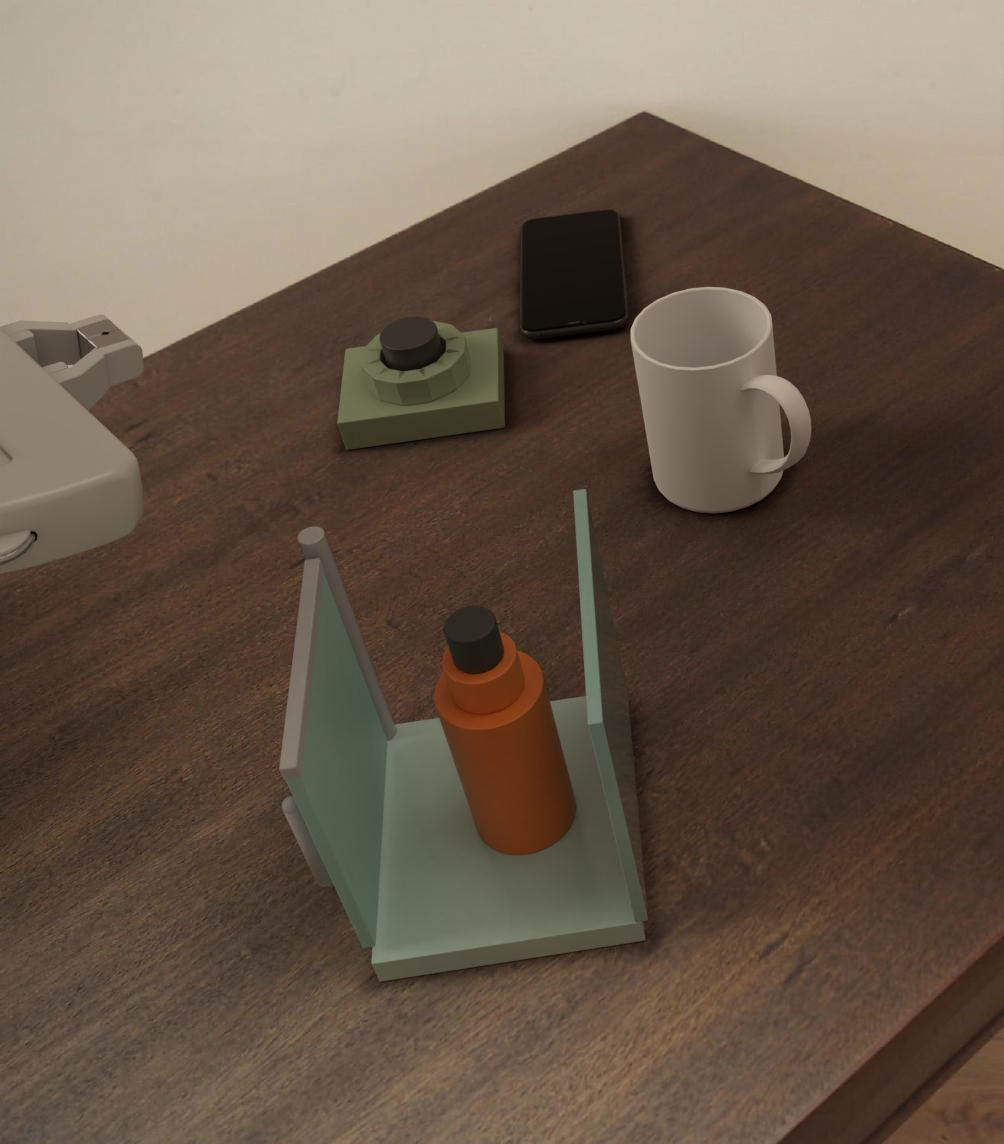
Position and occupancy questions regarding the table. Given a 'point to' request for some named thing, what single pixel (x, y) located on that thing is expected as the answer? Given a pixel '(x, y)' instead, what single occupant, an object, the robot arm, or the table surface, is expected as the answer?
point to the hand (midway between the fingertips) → (126, 343)
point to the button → (411, 343)
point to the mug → (714, 399)
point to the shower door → (334, 758)
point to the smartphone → (572, 275)
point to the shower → (450, 839)
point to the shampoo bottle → (502, 736)
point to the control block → (423, 391)
